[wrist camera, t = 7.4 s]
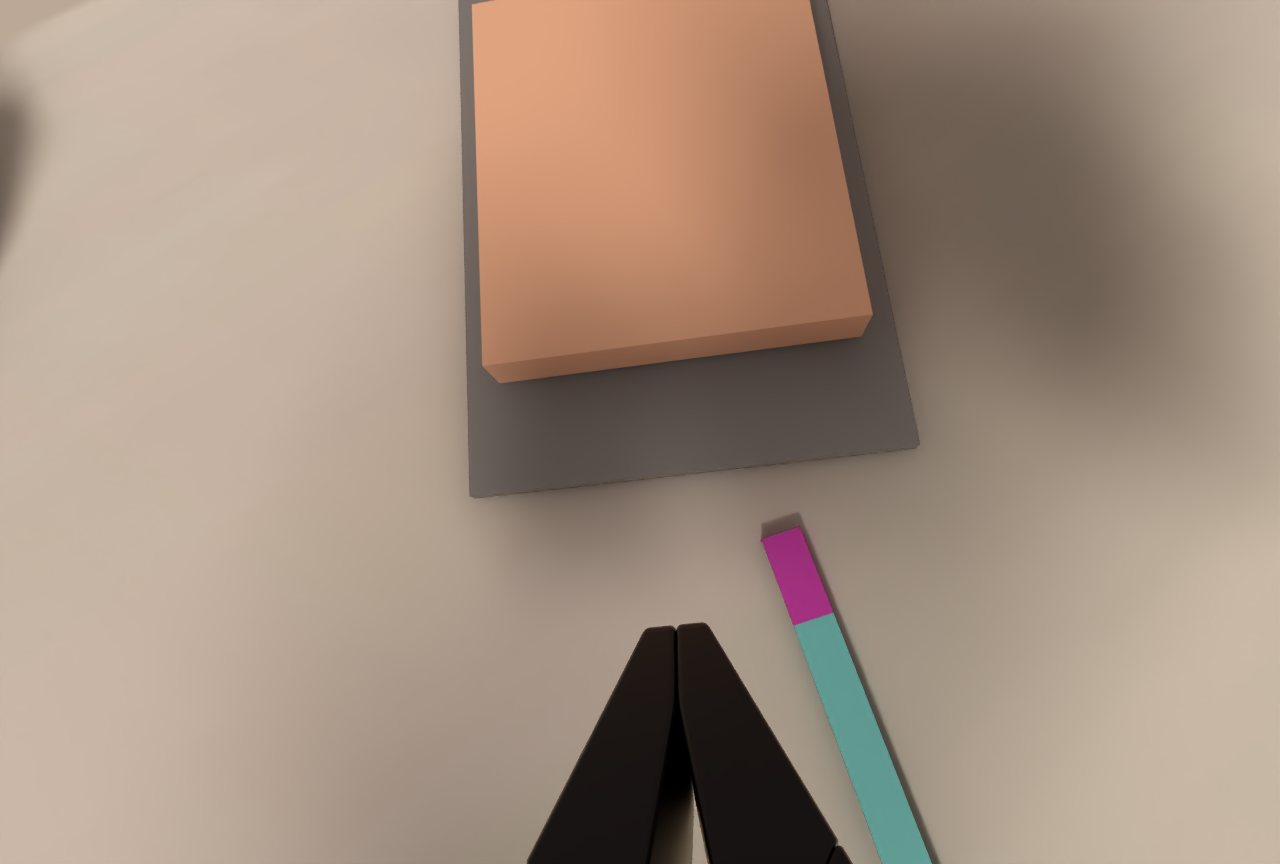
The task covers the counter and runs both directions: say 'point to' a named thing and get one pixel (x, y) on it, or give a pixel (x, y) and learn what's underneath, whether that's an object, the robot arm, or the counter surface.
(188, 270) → the counter surface
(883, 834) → the squeegee
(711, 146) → the ceramic tile
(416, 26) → the counter surface
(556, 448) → the rubber mat
